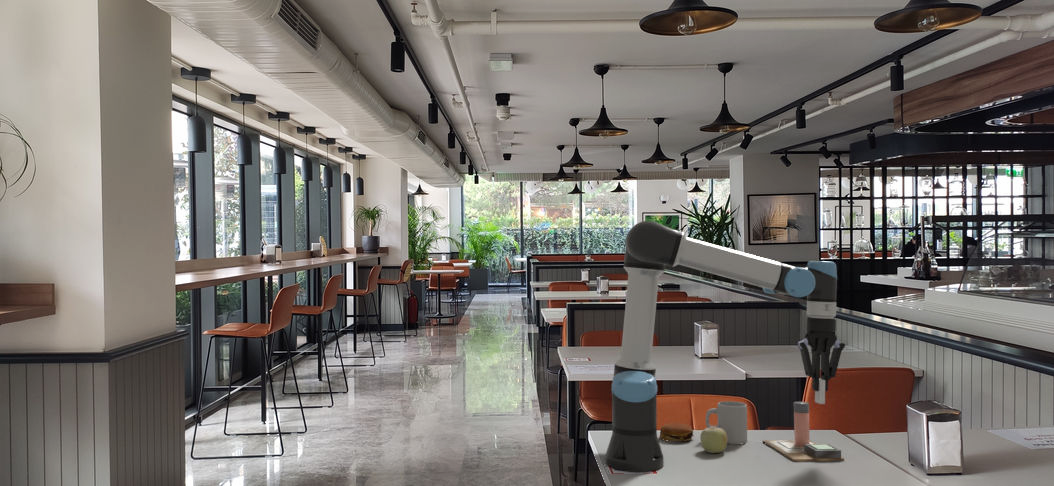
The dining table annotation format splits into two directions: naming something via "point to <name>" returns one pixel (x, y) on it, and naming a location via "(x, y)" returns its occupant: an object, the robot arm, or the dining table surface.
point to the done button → (822, 447)
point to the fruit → (714, 439)
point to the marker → (801, 423)
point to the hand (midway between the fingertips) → (819, 402)
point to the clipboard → (804, 451)
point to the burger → (676, 432)
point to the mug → (731, 420)
